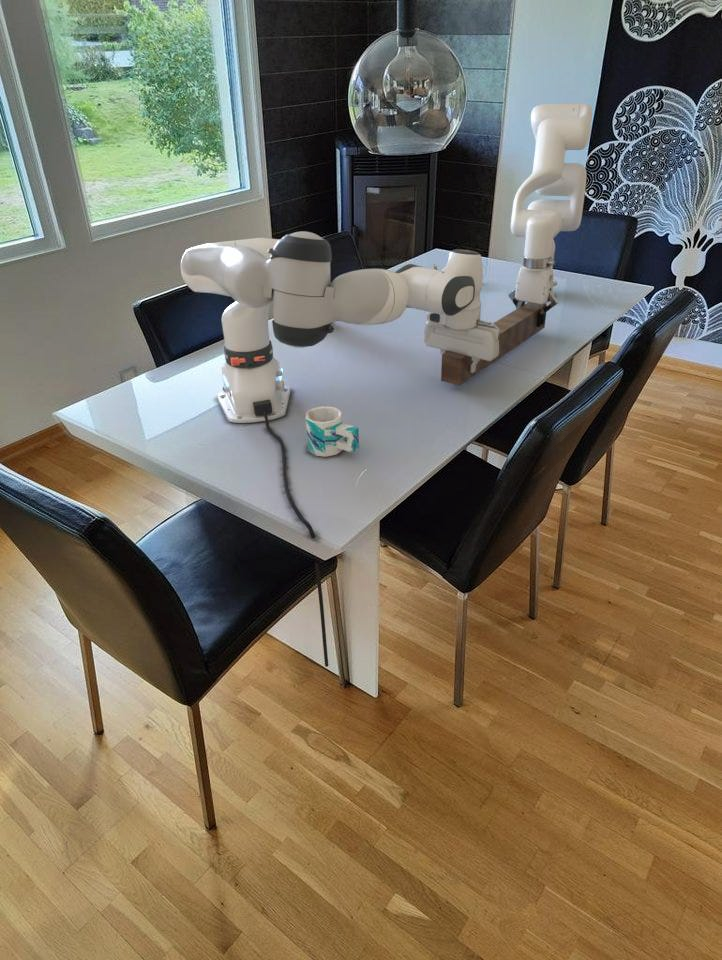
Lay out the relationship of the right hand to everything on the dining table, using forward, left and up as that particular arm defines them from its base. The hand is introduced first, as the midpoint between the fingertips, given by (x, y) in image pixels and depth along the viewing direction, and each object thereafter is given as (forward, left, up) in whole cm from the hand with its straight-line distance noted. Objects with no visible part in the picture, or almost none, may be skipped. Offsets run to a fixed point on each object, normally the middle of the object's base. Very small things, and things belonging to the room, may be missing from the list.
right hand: (530, 323), depth 200 cm
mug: (+85, +12, -4) cm, 86 cm away
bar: (+20, +4, -2) cm, 21 cm away
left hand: (+40, +9, 0) cm, 41 cm away
